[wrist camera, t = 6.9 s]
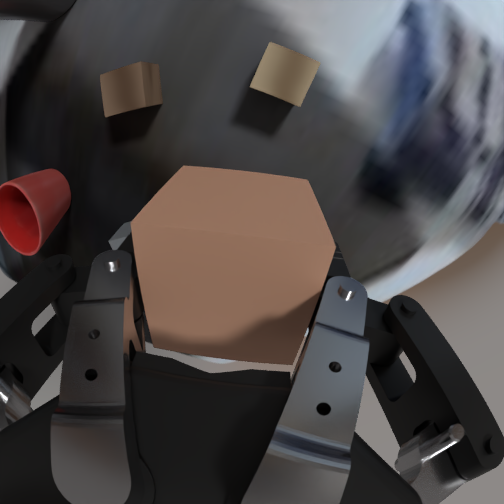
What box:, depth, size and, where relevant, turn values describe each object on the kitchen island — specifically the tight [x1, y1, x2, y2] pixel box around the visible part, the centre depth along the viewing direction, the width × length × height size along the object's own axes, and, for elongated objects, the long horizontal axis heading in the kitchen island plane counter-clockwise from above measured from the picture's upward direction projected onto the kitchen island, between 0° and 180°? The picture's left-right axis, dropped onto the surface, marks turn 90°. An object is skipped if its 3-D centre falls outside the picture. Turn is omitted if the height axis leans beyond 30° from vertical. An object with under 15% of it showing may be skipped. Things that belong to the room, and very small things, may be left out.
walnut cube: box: [100, 62, 163, 117], centre depth 23 cm, size 5×5×5 cm
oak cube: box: [250, 42, 320, 107], centre depth 23 cm, size 5×5×5 cm
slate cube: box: [109, 221, 132, 250], centre depth 34 cm, size 5×5×5 cm
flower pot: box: [0, 169, 71, 256], centre depth 29 cm, size 11×11×10 cm
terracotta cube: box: [131, 166, 336, 365], centre depth 10 cm, size 5×5×5 cm
